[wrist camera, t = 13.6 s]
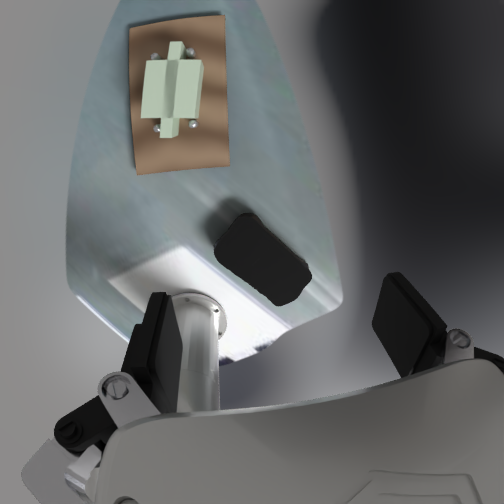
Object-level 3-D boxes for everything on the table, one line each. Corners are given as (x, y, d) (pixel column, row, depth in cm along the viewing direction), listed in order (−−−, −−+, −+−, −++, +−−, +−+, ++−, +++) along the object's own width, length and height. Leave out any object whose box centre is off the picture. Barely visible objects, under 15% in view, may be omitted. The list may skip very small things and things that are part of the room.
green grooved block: (158, 51, 28) (149, 42, 23) (206, 51, 29) (203, 41, 24) (150, 135, 33) (139, 137, 29) (196, 135, 34) (192, 138, 30)
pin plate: (229, 164, 38) (230, 170, 34) (139, 173, 37) (130, 180, 33) (224, 18, 28) (225, 7, 24) (132, 31, 27) (122, 22, 23)
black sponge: (207, 242, 43) (206, 254, 40) (245, 204, 41) (247, 212, 38) (278, 298, 50) (281, 311, 46) (313, 267, 47) (320, 279, 44)
